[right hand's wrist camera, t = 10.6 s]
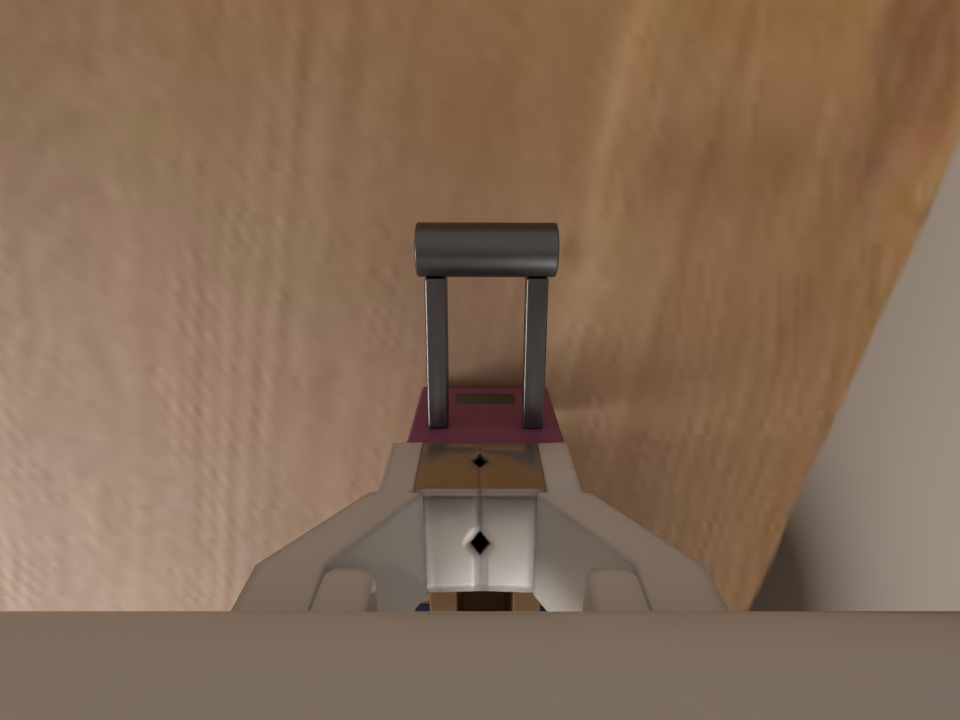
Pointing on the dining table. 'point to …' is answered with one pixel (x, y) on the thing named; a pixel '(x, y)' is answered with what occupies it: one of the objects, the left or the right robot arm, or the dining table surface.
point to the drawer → (485, 408)
